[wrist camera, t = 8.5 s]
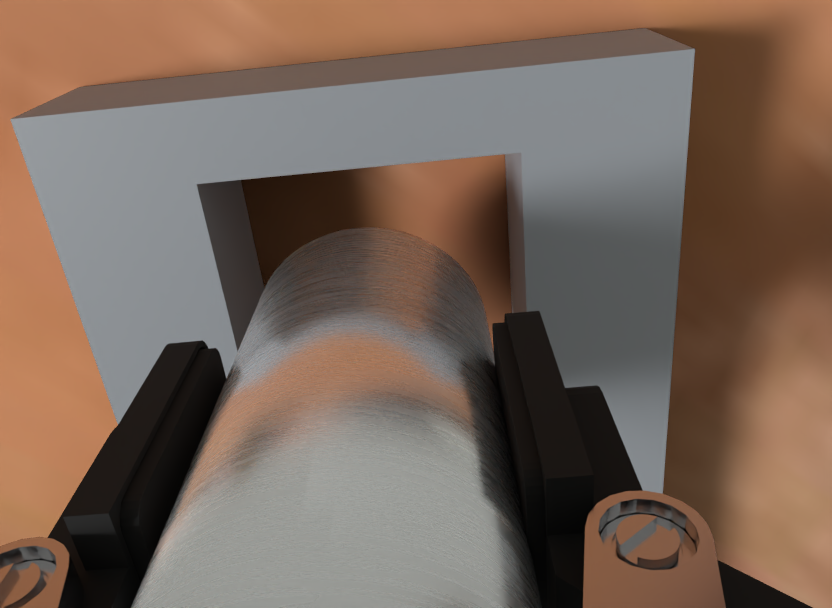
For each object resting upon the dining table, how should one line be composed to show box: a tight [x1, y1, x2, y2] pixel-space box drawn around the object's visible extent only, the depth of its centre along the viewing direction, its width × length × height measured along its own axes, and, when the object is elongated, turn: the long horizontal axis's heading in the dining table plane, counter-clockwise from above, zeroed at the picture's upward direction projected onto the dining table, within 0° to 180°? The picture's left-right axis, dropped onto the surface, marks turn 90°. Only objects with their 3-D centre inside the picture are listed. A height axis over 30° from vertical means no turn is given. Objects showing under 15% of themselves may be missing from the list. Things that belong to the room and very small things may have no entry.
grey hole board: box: [11, 28, 695, 494], centre depth 18 cm, size 18×12×3 cm, turn 6°
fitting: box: [131, 227, 542, 608], centre depth 10 cm, size 4×4×8 cm
